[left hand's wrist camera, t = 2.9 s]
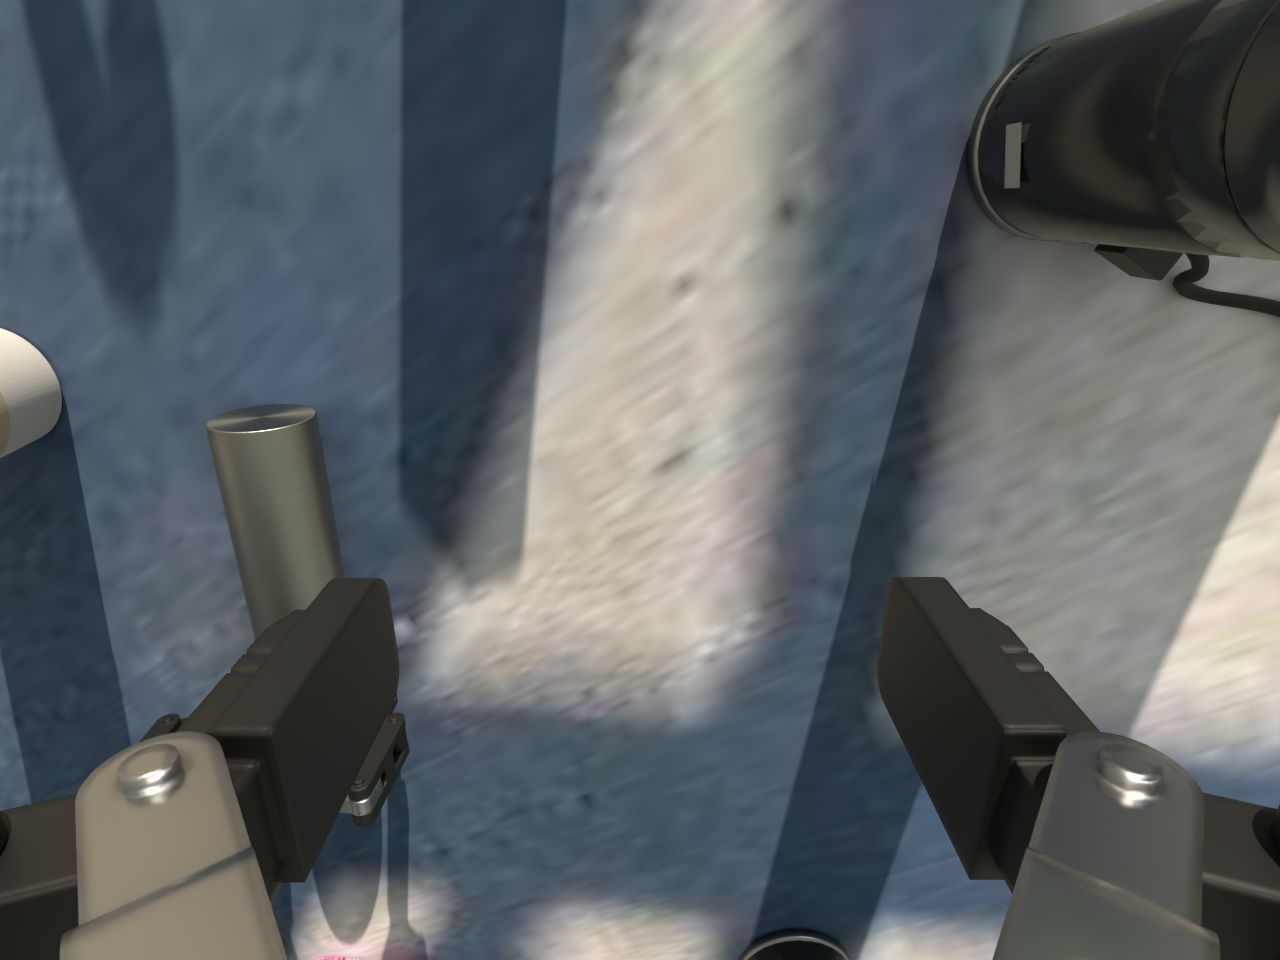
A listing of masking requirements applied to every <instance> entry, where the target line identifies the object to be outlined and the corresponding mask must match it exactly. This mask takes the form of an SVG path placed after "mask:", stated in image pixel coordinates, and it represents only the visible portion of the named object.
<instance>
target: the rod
mask: <svg viewBox="0 0 1280 960" xmlns="http://www.w3.org/2000/svg"><path fill="white" fill-rule="evenodd" d="M205 427H206V431H207V435H208V439H209V444H210V448H211V452H212V457H213V461H214V465H215V470H216V474H217V478H218V483H219V487H220V491H221V496H222V500H223V504H224V509H225V513H226V517H227V521H228V526H229V530H230V534H231V539H232V543H233V547H234V552H235V556H236V560H237V565H238V569H239V573H240V578H241V582H242V586H243V591H244V595H245V599H246V603H247V608H248V612H249V616H250V621H251V625H252V629H253V634H254V638H255V640H256V639H257V638H258V637H259V636H260V635H261V634H262V632H263V631H264V630H265V629H266V628H267V627H269V626H271V625H272V624H274V623H275V622H277V621H279V620H280V619H282V618H283V617H285V616H286V615H288V614H290V613H291V612H293V611H294V610H306V609H307V608H308V606H309V605H310V604H311V603H312V601H313V600H314V599H315V598H316V597H317V595H318V594H319V593H320V592H321V590H322V589H323V588H324V587H325V586H326V584H327V583H328V582H329V581H330V580H332V579H334V578H345V577H344V571H343V565H342V560H341V554H340V548H339V542H338V536H337V530H336V525H335V519H334V513H333V507H332V501H331V495H330V490H329V484H328V478H327V472H326V466H325V460H324V455H323V449H322V443H321V437H320V431H319V425H318V420H317V414H316V411H315V410H314V409H312V408H310V407H307V406H301V405H290V404H278V405H264V406H255V407H249V408H243V409H238V410H234V411H230V412H226V413H223V414H220V415H218V416H216V417H213V418H212V419H210V420H209V421H207V423H206V426H205Z"/></svg>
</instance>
